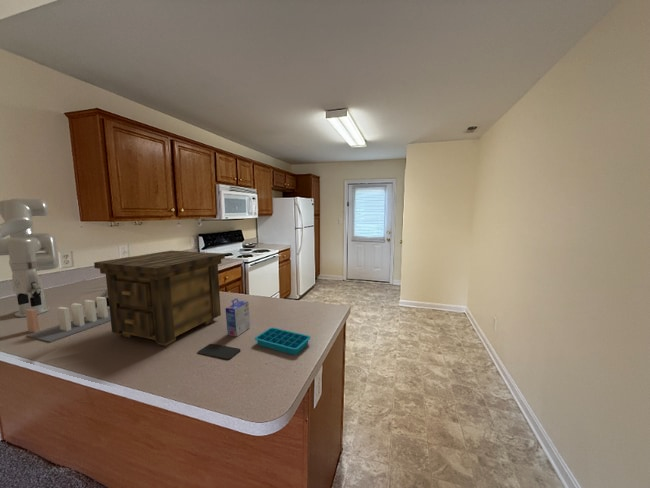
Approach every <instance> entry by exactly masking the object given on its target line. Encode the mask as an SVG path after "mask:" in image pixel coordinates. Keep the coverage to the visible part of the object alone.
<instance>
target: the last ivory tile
mask: <svg viewBox="0 0 650 488" xmlns="http://www.w3.org/2000/svg"><path fill="white" fill-rule="evenodd" d="M57 317H58V322H59V323H58V325H60V329H61V330H65V331H68V330H71V322H70V321H71V314H70V309H69V307H65V306H59V307H57Z"/></svg>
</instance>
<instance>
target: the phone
mask: <svg viewBox="0 0 650 488" xmlns="http://www.w3.org/2000/svg"><path fill="white" fill-rule="evenodd" d="M240 352H241V348H237V347H232V346H226V345H221V344H215V343H209V344H207V345H205V346H203V348H201V349H199V350H198V351H197V354H199V355H203V356H207V357H211V358H216V359H220V360H224V361H225V360H226V361H229V360H232V359H233V358H234V357H236V356H237V355H238V354H239V353H240Z"/></svg>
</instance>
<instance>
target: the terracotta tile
mask: <svg viewBox="0 0 650 488" xmlns="http://www.w3.org/2000/svg"><path fill="white" fill-rule="evenodd" d="M25 312H26V316H25V319H26V326H27V331H28V332H31V333H35V332H39V331H41V330H40V325H39V318H38V314H37V310H35V309H26V310H25Z"/></svg>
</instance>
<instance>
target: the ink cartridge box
mask: <svg viewBox="0 0 650 488" xmlns="http://www.w3.org/2000/svg"><path fill="white" fill-rule="evenodd" d="M235 301H236V302H235ZM231 303H232V304H230V305H229V306H227V307H226V308H224V309H225V319H226V320H225V321H226V329H227V332H226V333H227V336H232V337H238V336H240V335H242V333H244V332H245V331H247V330H248V329H250V328H251V319H250V318H251V317H250V306H249V305H250V303H249V301H245V300H244V301H243V300H239V299H238V298H237V297H236V298H233V299H232V300H231Z"/></svg>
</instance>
